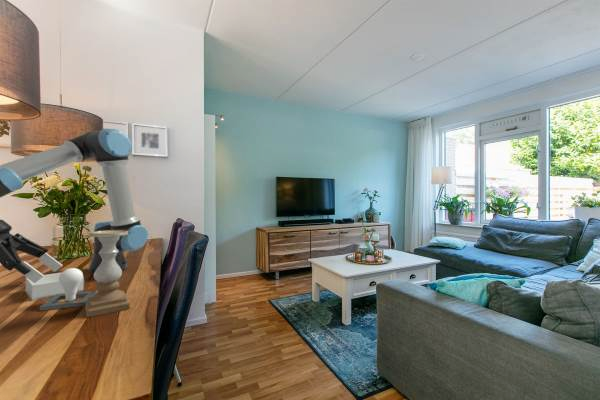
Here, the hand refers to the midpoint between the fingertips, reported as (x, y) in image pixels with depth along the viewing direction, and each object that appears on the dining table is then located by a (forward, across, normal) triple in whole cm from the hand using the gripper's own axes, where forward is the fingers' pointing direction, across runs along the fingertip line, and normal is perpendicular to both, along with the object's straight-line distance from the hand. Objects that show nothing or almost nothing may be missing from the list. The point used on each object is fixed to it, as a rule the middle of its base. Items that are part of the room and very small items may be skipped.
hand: (50, 273), depth 86 cm
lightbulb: (+11, -1, -3) cm, 11 cm away
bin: (+4, -15, -10) cm, 19 cm away
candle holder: (+19, +9, +5) cm, 22 cm away
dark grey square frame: (+11, -1, -3) cm, 11 cm away
